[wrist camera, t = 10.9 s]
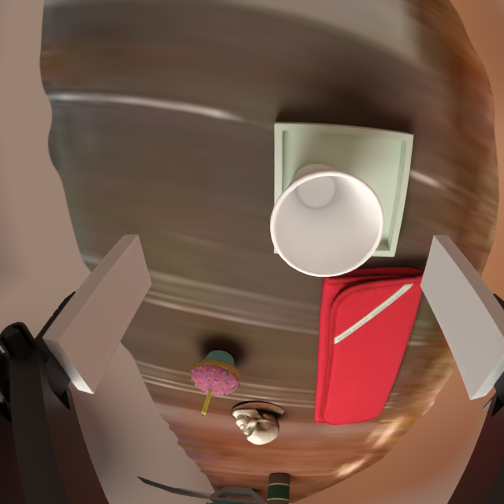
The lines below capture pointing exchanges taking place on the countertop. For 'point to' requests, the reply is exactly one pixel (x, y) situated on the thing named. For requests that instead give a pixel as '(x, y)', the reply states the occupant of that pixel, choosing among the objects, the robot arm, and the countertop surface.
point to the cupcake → (216, 375)
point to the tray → (350, 164)
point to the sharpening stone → (220, 496)
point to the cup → (326, 221)
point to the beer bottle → (278, 488)
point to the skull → (258, 421)
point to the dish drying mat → (363, 340)
